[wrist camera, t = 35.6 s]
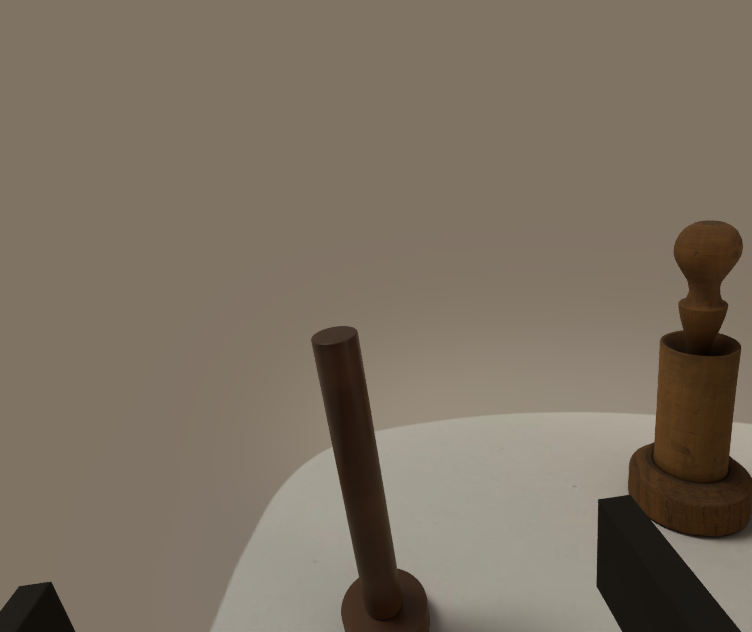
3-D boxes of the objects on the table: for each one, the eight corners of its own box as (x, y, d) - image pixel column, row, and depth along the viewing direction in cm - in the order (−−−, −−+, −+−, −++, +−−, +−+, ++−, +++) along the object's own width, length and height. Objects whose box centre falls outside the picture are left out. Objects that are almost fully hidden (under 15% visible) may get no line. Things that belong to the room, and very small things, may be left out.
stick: (340, 668, 24) (267, 363, 19) (350, 588, 28) (294, 321, 23) (431, 665, 24) (385, 351, 18) (428, 584, 28) (389, 310, 22)
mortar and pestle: (716, 466, 34) (744, 206, 28) (775, 538, 28) (828, 225, 22) (614, 469, 35) (621, 220, 29) (650, 539, 29) (667, 242, 23)
